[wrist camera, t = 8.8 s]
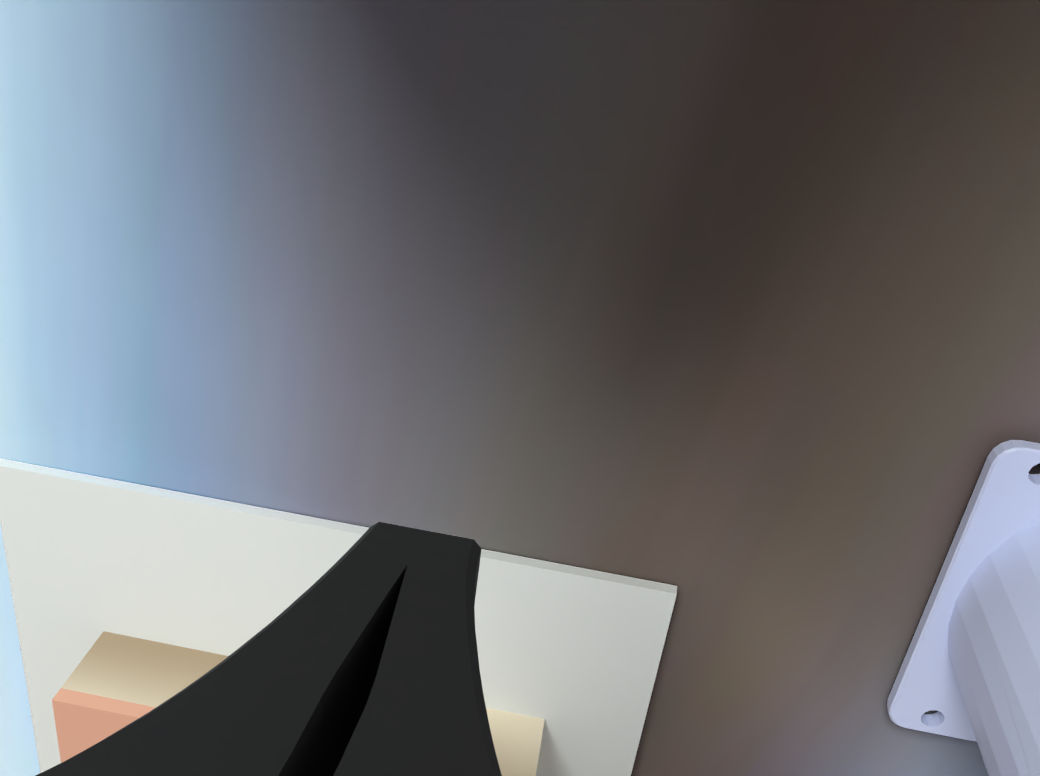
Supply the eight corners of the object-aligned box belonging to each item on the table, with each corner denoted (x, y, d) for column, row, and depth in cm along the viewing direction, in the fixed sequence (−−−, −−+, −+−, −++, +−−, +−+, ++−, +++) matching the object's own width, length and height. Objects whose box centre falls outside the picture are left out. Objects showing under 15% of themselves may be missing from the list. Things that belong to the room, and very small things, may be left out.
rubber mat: (676, 585, 24) (676, 593, 23) (582, 961, 31) (581, 971, 31) (-2, 457, 25) (-9, 464, 25) (59, 848, 32) (54, 857, 32)
